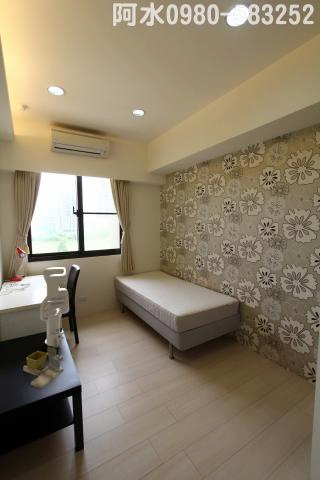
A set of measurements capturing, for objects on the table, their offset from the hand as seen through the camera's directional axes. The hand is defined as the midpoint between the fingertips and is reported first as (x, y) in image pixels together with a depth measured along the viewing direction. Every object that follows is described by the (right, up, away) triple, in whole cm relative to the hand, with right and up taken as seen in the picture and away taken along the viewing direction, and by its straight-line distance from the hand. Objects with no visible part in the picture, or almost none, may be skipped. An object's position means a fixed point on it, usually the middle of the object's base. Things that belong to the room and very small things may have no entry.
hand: (54, 354), depth 158 cm
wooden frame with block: (-3, -2, -8) cm, 9 cm away
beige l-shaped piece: (+6, -4, -20) cm, 21 cm away
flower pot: (-6, -3, -12) cm, 14 cm away
